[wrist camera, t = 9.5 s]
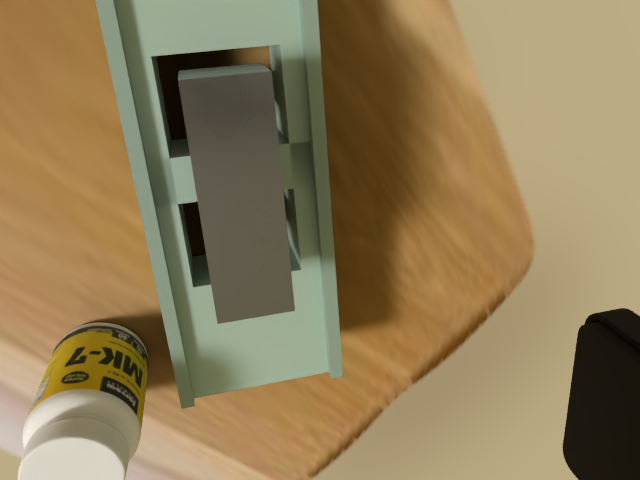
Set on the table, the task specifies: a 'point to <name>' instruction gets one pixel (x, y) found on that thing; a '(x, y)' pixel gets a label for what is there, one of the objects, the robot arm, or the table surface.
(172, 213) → the rail
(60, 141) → the table surface
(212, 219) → the tall taupe block
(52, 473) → the supplement bottle
